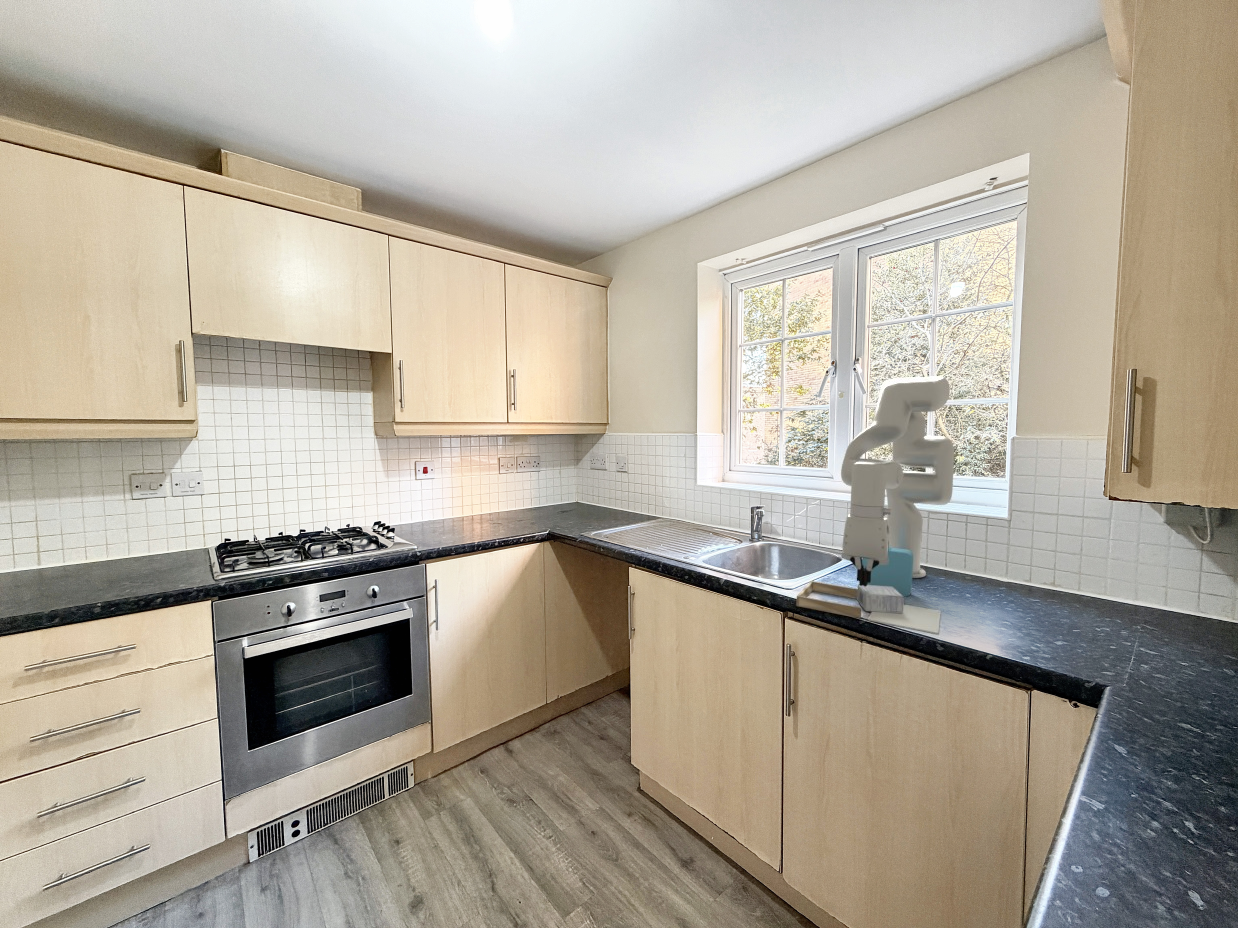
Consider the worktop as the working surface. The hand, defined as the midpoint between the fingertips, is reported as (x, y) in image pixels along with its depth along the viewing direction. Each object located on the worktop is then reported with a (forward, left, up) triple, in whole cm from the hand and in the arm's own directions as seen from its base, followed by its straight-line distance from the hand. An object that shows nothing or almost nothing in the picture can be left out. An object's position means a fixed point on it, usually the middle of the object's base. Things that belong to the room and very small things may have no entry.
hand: (863, 584), depth 129 cm
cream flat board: (0, +9, -6) cm, 11 cm away
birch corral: (0, -7, -6) cm, 9 cm away
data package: (-18, +3, -6) cm, 19 cm away
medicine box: (-1, -1, -4) cm, 4 cm away
